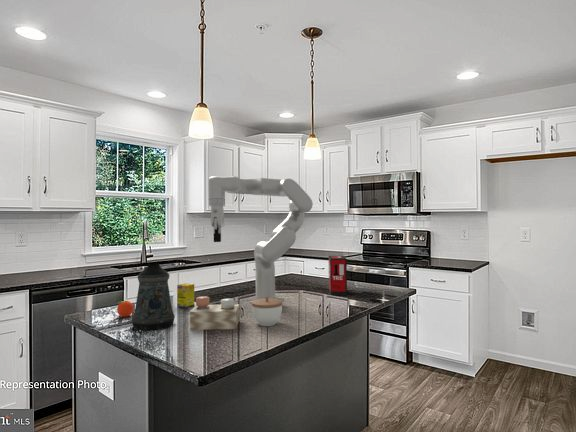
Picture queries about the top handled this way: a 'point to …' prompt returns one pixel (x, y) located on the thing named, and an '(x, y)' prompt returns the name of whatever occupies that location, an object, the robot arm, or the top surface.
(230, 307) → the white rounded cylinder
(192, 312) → the button box
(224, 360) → the top surface
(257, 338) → the top surface
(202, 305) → the terracotta button
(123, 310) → the clementine
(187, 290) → the supplement box
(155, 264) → the beer stein
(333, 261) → the cleaning product box
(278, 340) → the top surface
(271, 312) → the lidded bowl
